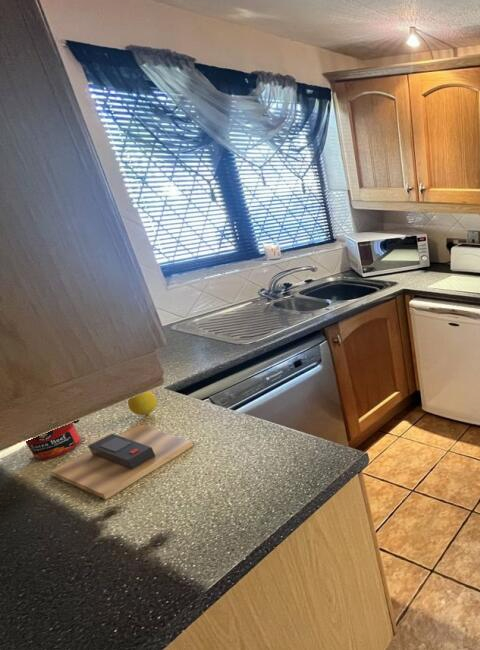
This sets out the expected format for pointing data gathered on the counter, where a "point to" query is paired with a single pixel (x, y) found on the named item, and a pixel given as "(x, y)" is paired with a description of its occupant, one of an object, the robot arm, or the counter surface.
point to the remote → (121, 451)
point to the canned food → (54, 442)
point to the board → (113, 477)
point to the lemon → (143, 403)
